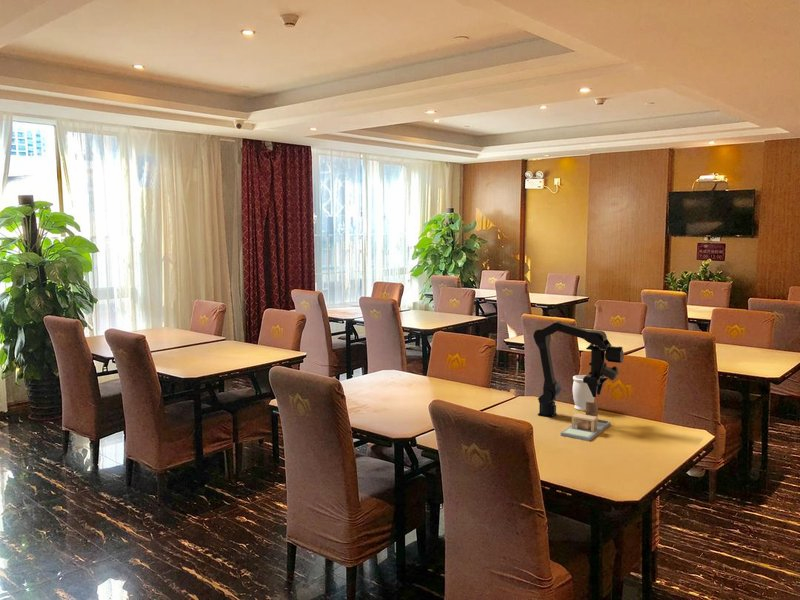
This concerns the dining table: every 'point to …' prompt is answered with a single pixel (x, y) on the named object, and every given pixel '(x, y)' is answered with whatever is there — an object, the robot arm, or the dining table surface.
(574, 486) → the dining table surface
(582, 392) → the jar
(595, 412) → the wooden block
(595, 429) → the bridge deck
